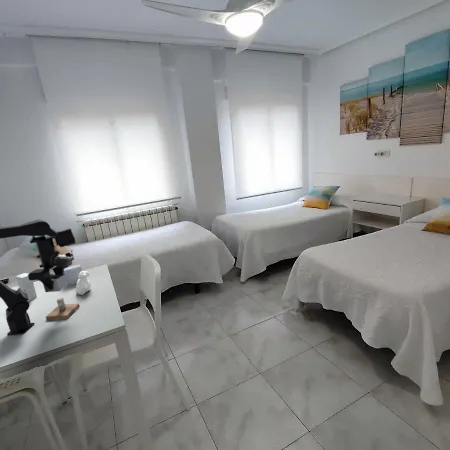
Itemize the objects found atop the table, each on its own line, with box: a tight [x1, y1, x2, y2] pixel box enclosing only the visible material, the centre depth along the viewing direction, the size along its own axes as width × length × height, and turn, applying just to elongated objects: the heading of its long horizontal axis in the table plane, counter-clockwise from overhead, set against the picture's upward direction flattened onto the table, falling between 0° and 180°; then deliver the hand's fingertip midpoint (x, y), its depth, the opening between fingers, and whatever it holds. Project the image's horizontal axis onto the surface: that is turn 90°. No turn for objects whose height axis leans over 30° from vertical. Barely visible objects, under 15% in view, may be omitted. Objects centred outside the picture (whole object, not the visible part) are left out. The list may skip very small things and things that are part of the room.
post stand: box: [45, 297, 80, 321], centre depth 114 cm, size 9×9×6 cm
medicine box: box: [64, 264, 83, 287], centre depth 143 cm, size 8×4×9 cm, turn 130°
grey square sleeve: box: [42, 273, 68, 293], centre depth 111 cm, size 6×6×5 cm
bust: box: [75, 270, 92, 296], centre depth 133 cm, size 12×8×11 cm
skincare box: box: [15, 272, 37, 301], centre depth 130 cm, size 6×4×12 cm
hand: (56, 285), depth 112 cm, fingers closed on grey square sleeve, 6 cm apart
